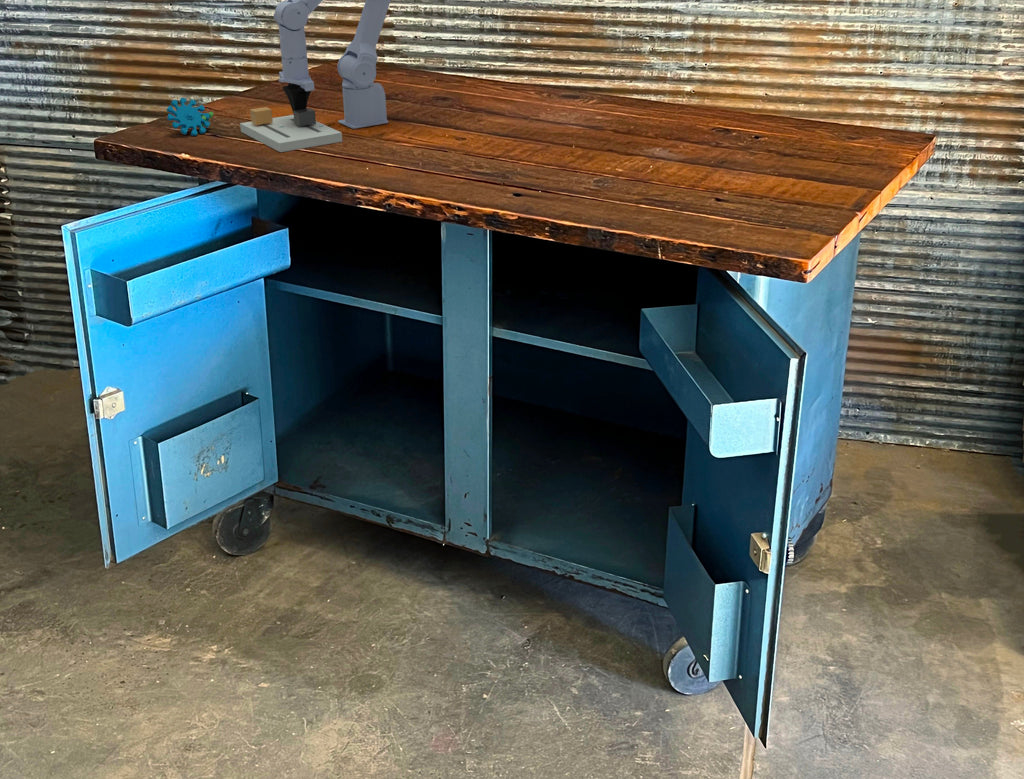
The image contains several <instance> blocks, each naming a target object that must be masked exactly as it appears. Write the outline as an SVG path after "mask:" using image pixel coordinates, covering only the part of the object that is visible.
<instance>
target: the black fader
mask: <svg viewBox="0 0 1024 779" xmlns="http://www.w3.org/2000/svg"><path fill="white" fill-rule="evenodd" d="M292 115H294V124H296V125H298V126H306V125H312V124H316V121H317V118H316V110H314V109H312V108H310V107H308V108H307V107H306V109H301V110H294V111H292Z"/></svg>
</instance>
